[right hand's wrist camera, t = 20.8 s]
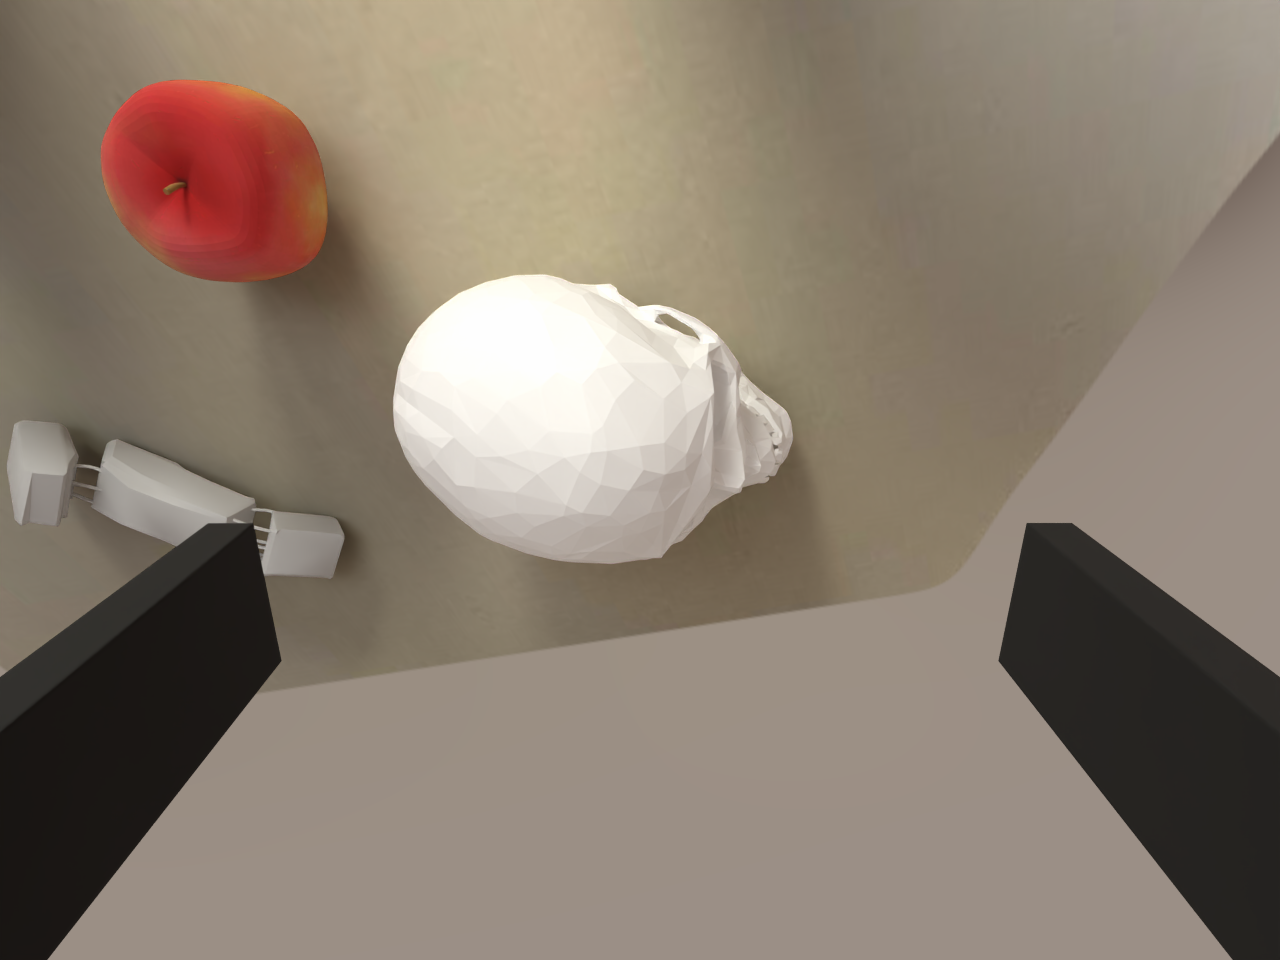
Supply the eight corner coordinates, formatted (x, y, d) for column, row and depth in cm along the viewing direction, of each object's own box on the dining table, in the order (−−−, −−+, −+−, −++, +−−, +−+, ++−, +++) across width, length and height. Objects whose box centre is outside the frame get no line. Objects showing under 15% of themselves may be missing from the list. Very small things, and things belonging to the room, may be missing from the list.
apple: (222, 55, 39) (89, 8, 29) (388, 154, 40) (313, 140, 31) (166, 222, 42) (29, 227, 32) (324, 307, 43) (237, 336, 34)
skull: (763, 524, 48) (821, 656, 33) (430, 462, 47) (333, 571, 32) (818, 323, 44) (913, 370, 29) (455, 247, 43) (356, 257, 28)
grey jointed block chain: (26, 460, 46) (-59, 507, 40) (33, 408, 45) (-54, 447, 39) (345, 556, 51) (314, 611, 45) (359, 511, 50) (329, 561, 43)
